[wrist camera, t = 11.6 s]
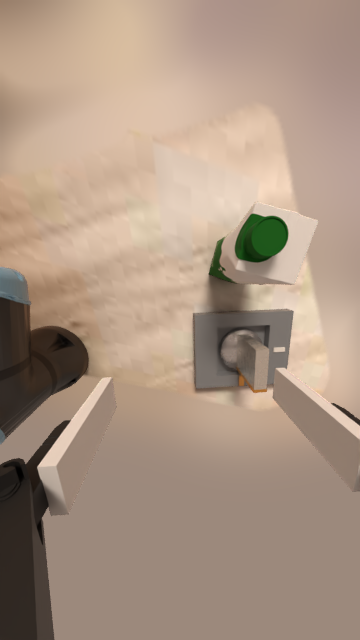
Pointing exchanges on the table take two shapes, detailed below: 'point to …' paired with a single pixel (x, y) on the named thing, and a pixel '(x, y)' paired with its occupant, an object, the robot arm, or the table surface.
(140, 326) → the table surface
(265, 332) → the panel
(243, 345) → the dial
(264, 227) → the milk carton
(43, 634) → the robot arm
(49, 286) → the table surface
